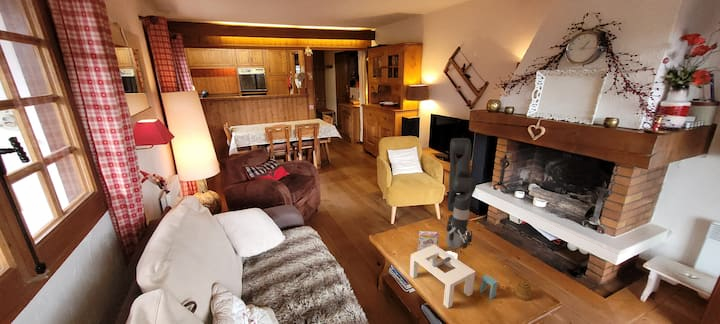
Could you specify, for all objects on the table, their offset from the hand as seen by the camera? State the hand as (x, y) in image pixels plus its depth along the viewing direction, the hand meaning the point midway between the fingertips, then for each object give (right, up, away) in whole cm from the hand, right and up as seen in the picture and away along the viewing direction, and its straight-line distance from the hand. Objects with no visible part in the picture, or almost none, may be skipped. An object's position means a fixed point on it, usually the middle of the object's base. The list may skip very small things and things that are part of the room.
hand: (457, 244), depth 148 cm
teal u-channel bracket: (+16, -26, 0) cm, 30 cm away
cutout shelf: (-7, -24, +7) cm, 26 cm away
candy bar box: (-9, -17, +31) cm, 36 cm away
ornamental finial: (+33, -26, -1) cm, 42 cm away
